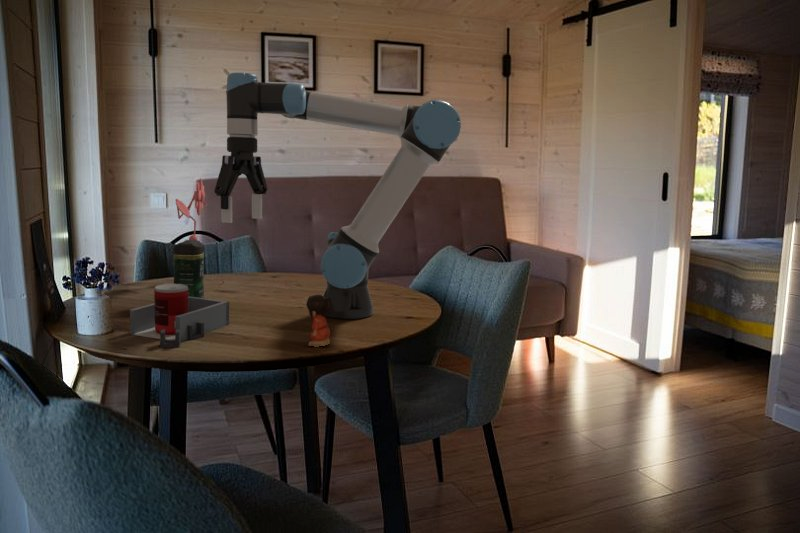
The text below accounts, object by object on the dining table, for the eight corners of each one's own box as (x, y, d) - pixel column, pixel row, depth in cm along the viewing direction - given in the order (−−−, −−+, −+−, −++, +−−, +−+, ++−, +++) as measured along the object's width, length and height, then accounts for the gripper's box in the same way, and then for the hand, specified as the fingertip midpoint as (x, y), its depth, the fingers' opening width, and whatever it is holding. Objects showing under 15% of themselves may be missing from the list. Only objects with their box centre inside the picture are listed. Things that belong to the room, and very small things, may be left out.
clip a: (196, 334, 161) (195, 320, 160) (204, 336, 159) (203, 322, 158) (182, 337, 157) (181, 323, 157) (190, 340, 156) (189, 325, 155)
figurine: (331, 340, 160) (332, 292, 158) (333, 347, 154) (334, 297, 153) (305, 341, 159) (306, 292, 157) (306, 347, 153) (307, 297, 151)
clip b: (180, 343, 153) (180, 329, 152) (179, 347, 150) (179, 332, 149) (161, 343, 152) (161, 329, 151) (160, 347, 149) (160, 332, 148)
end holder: (229, 324, 171) (229, 301, 170) (179, 342, 154) (179, 317, 153) (183, 317, 176) (182, 295, 175) (130, 334, 158) (129, 309, 158)
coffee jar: (199, 308, 188) (198, 243, 185) (170, 307, 187) (169, 242, 184) (207, 300, 197) (206, 238, 194) (180, 300, 197) (179, 237, 194)
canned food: (192, 327, 166) (192, 284, 164) (182, 336, 158) (182, 290, 156) (161, 326, 165) (160, 283, 164) (150, 334, 157) (149, 289, 156)
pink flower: (169, 289, 210) (170, 178, 205) (185, 275, 235) (186, 176, 230) (219, 291, 212) (221, 181, 207) (229, 277, 237) (232, 178, 232)
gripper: (256, 138, 180) (256, 216, 184) (198, 134, 157) (199, 223, 161) (280, 138, 178) (280, 217, 181) (225, 134, 155) (226, 225, 158)
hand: (242, 220), depth 171 cm, fingers open, 13 cm apart
